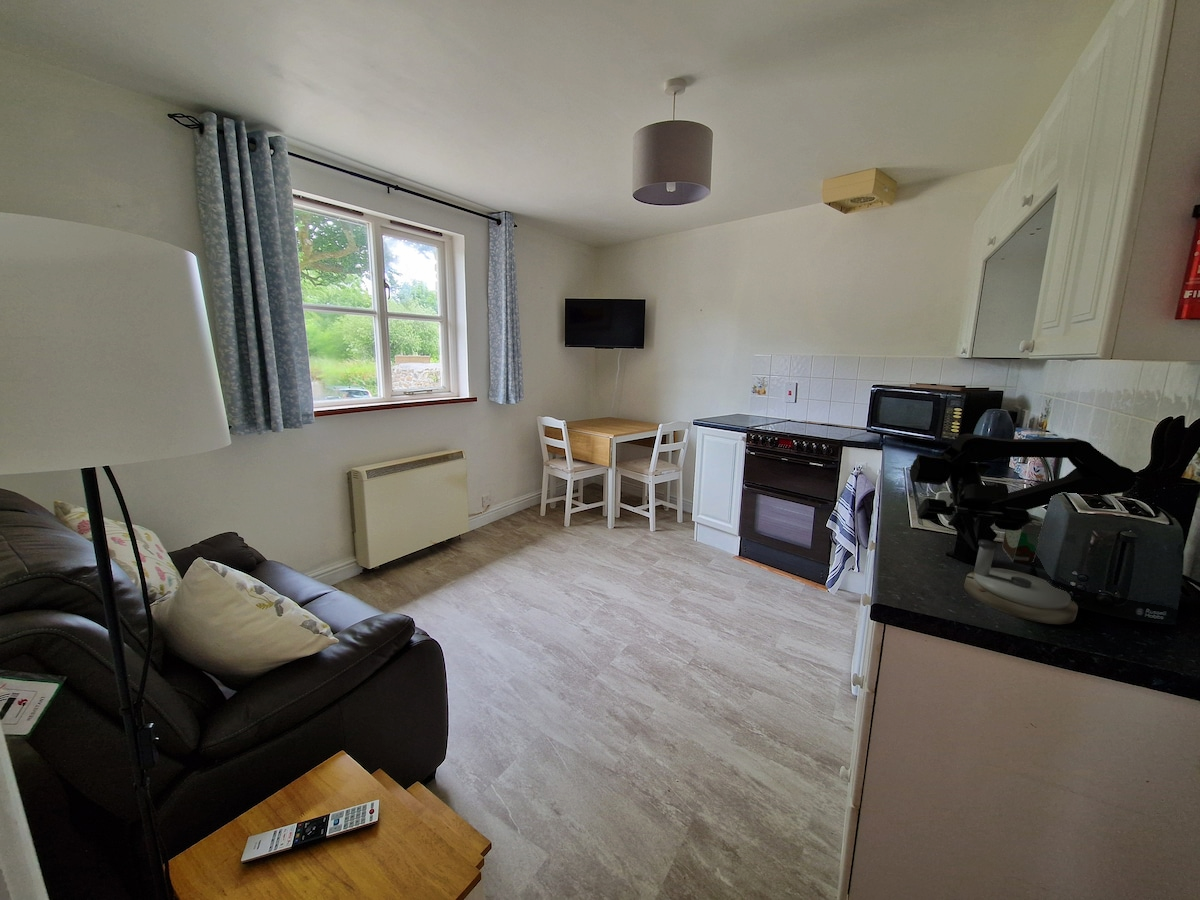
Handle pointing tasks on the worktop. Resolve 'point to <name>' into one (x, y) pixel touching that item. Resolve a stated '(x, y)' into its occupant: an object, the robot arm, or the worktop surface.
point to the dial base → (1020, 606)
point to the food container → (1023, 541)
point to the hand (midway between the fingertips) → (976, 549)
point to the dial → (1016, 582)
